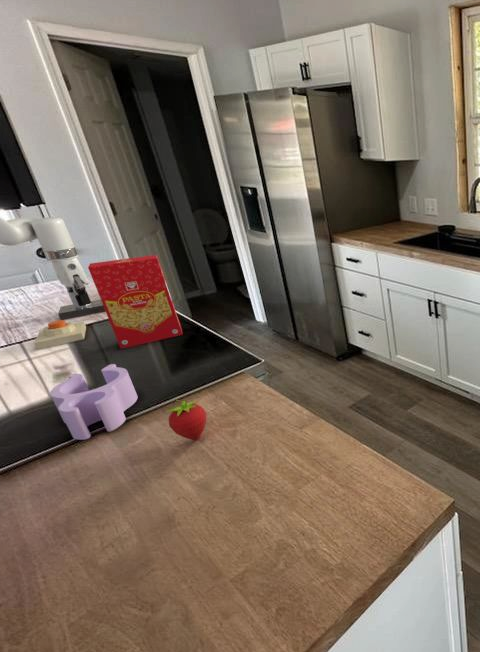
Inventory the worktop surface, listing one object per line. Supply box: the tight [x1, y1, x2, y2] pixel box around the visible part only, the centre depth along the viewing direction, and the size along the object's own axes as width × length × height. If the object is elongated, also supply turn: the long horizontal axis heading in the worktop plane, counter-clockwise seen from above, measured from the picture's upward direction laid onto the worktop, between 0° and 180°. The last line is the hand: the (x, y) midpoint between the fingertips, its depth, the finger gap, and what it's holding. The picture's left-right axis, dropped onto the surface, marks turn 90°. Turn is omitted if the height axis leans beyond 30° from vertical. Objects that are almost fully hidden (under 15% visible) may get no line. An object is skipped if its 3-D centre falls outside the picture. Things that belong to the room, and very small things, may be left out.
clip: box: [49, 363, 138, 441], centre depth 91 cm, size 20×12×7 cm, turn 41°
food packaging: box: [87, 254, 183, 349], centre depth 123 cm, size 15×5×25 cm, turn 129°
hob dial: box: [68, 292, 91, 308], centre depth 147 cm, size 4×4×5 cm
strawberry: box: [164, 399, 207, 442], centre depth 81 cm, size 6×8×10 cm
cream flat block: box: [34, 321, 87, 350], centre depth 128 cm, size 12×10×4 cm
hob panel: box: [57, 299, 106, 321], centre depth 148 cm, size 12×9×3 cm
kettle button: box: [47, 319, 66, 329], centre depth 127 cm, size 4×4×2 cm
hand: (82, 303), depth 147 cm, fingers closed on hob dial, 4 cm apart
